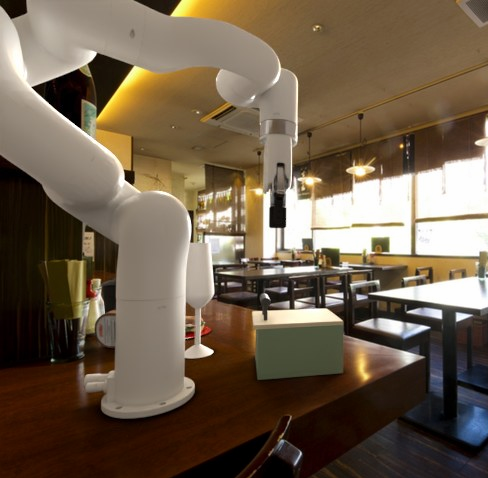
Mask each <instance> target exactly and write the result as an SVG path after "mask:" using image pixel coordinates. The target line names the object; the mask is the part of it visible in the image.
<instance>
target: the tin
mask: <svg viewBox="0 0 488 478" xmlns="http://www.w3.org/2000/svg"><path fill="white" fill-rule="evenodd" d="M115 334H116V310H112V311H109V312H107V313H105V312H104V313H103V314H101V315H100V316H99V317H98V318H97V319H96V320H95V322H94V336H95V339H96V341H97V342H98V343H99V344H100V345H101V346H103V347H104V348H109V349H115Z"/></svg>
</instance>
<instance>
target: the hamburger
mask: <svg viewBox="0 0 488 478" xmlns="http://www.w3.org/2000/svg"><path fill="white" fill-rule="evenodd" d="M205 324H206V322H205V321H204V319H203V318H202V317H201V336H204V335H207V334H208V333H210V332H211V330H212V329H211V328H210V327H209V326H205ZM192 338H195V315H194V316H191V315H185V339H192Z"/></svg>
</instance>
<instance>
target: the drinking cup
mask: <svg viewBox="0 0 488 478" xmlns="http://www.w3.org/2000/svg"><path fill="white" fill-rule="evenodd" d="M100 286H102V296H103V297H102V298H103V309H104V314H105V313H107V312H109V311H112V310H116V277H114V278H110V279H108V280H106V281H104V282H102V283H101V284H100Z"/></svg>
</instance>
